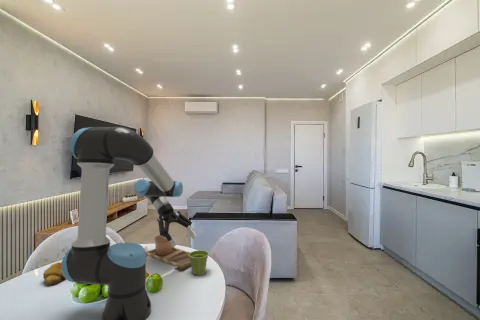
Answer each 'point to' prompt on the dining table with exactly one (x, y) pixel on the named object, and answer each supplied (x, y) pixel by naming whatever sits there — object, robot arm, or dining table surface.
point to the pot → (162, 246)
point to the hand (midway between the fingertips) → (185, 241)
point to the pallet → (173, 258)
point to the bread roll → (53, 274)
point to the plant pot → (198, 261)
